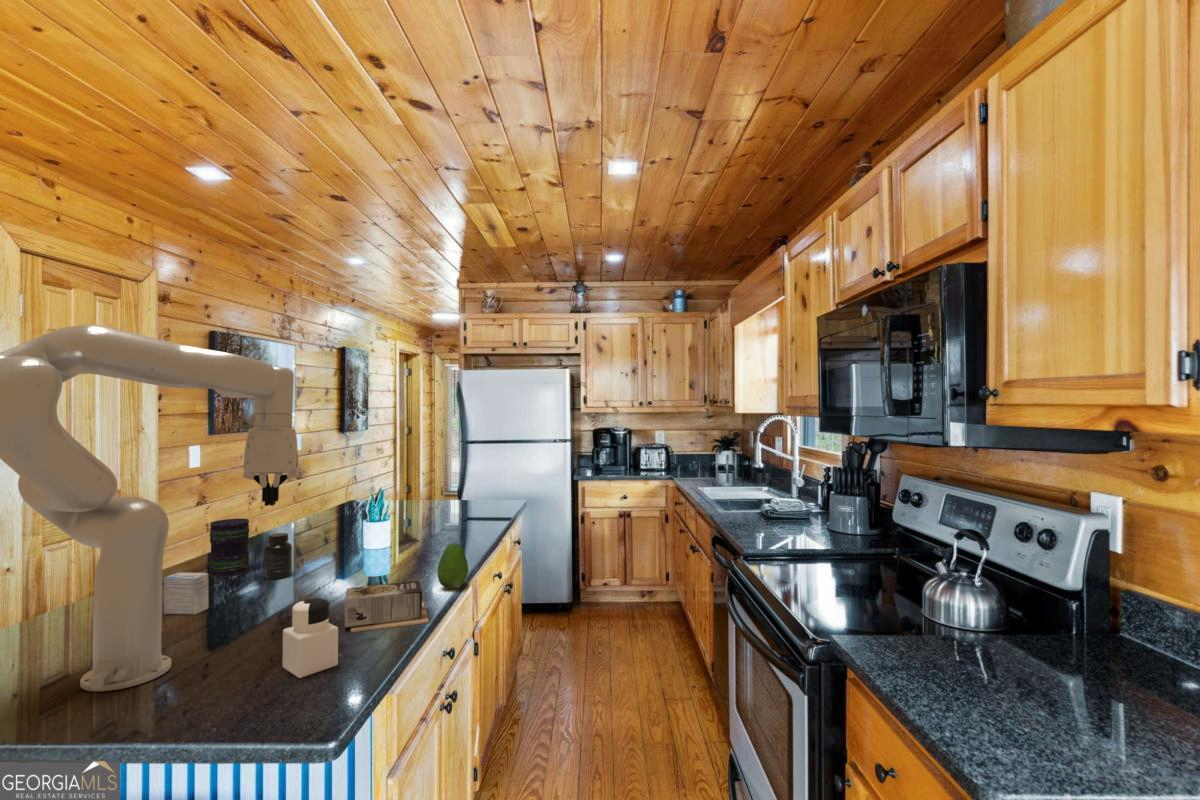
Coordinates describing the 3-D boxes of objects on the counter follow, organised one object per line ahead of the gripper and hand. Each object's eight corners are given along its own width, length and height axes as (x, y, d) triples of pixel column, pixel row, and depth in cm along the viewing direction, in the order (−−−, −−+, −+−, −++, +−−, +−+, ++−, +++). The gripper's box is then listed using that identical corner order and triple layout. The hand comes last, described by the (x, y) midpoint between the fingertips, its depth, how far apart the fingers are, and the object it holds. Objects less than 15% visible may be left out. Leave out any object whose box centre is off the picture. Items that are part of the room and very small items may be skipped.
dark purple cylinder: (215, 569, 173) (216, 519, 174) (252, 566, 176) (253, 517, 177) (203, 578, 164) (204, 525, 164) (243, 575, 167) (244, 523, 167)
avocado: (460, 593, 150) (461, 547, 150) (432, 591, 151) (432, 545, 152) (472, 584, 158) (472, 540, 158) (445, 583, 159) (445, 539, 160)
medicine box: (209, 609, 139) (209, 572, 139) (194, 615, 134) (194, 578, 134) (178, 608, 139) (179, 571, 140) (163, 614, 135) (163, 577, 135)
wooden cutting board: (428, 622, 129) (428, 620, 129) (350, 632, 123) (350, 630, 123) (421, 596, 148) (421, 594, 148) (353, 603, 142) (353, 601, 142)
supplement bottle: (265, 574, 168) (266, 533, 168) (292, 572, 170) (292, 531, 171) (263, 581, 161) (263, 537, 162) (291, 578, 164) (291, 535, 164)
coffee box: (346, 587, 133) (419, 579, 139) (345, 615, 133) (419, 606, 139) (344, 598, 124) (423, 589, 130) (344, 628, 124) (422, 618, 130)
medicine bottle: (320, 655, 112) (321, 593, 112) (338, 665, 108) (339, 600, 108) (281, 667, 107) (282, 602, 107) (298, 679, 102) (299, 610, 102)
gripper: (229, 421, 123) (226, 508, 122) (307, 422, 128) (304, 506, 127) (239, 421, 130) (235, 503, 129) (312, 422, 135) (309, 501, 134)
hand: (270, 504), depth 128 cm, fingers closed
